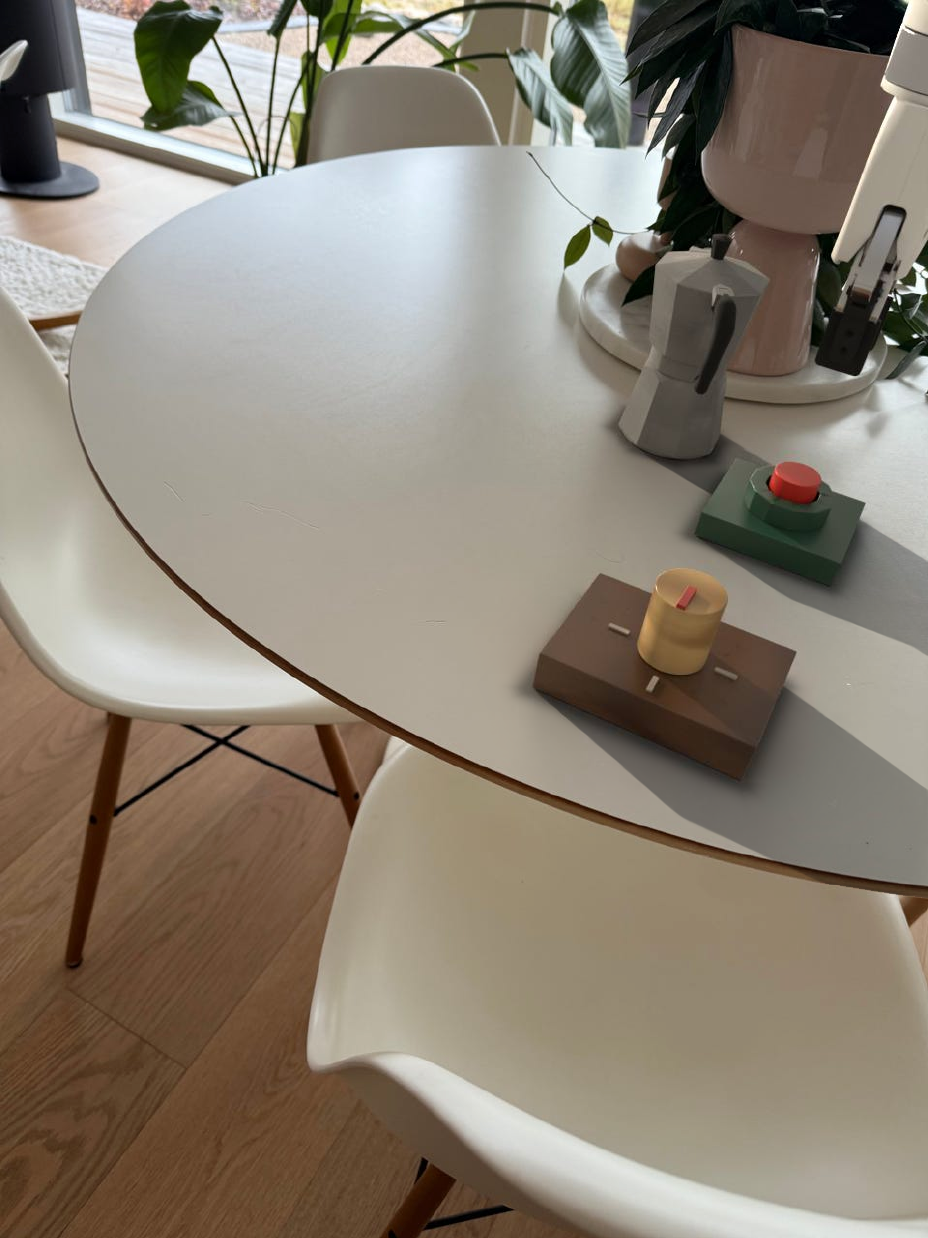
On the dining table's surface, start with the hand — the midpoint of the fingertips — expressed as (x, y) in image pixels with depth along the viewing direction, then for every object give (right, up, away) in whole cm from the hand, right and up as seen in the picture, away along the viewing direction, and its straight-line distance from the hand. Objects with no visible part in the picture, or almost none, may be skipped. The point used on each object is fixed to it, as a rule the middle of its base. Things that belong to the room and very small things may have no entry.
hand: (844, 354), depth 71 cm
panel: (-14, -23, -6) cm, 28 cm away
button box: (-2, -12, +10) cm, 15 cm away
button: (-1, -9, +8) cm, 12 cm away
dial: (-14, -21, -8) cm, 26 cm away
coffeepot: (-8, -3, +19) cm, 21 cm away
